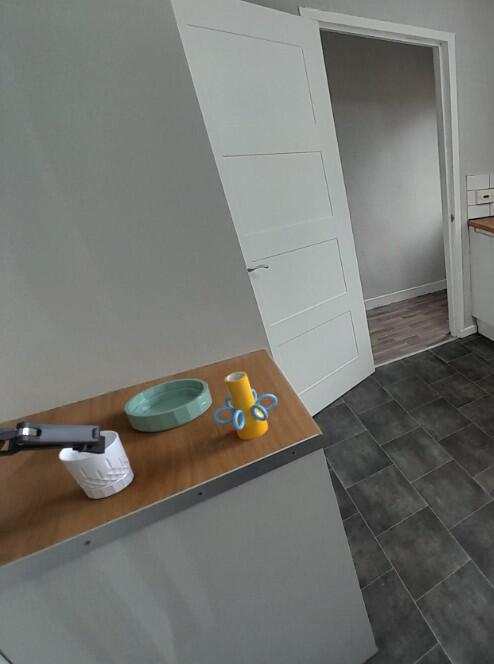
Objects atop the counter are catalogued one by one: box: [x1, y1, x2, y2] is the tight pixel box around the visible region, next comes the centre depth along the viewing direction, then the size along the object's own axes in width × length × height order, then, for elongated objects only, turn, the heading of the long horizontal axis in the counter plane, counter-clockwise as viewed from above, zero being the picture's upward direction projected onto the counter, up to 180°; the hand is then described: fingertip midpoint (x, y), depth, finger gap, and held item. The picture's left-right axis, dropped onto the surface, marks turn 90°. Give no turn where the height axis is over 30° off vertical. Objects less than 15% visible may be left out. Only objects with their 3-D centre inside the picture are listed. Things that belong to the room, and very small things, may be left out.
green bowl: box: [123, 378, 213, 433], centre depth 98 cm, size 16×16×5 cm
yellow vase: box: [212, 371, 278, 441], centre depth 90 cm, size 12×10×15 cm
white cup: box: [58, 430, 135, 500], centre depth 76 cm, size 8×8×10 cm
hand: (46, 456), depth 64 cm, fingers open, 13 cm apart
